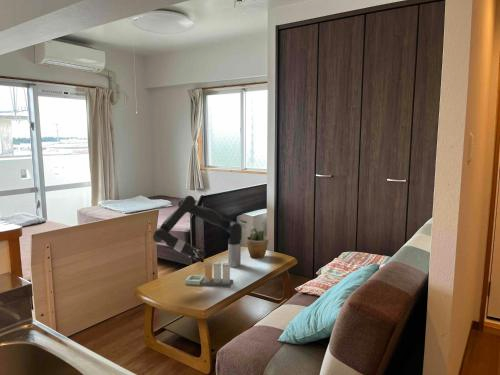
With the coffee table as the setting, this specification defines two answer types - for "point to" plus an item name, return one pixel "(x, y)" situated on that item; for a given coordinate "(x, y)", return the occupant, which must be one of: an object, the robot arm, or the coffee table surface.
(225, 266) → the end white fuse
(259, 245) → the potted plant
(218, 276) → the block
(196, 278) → the tray
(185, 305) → the coffee table surface
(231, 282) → the fuse block
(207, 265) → the block
